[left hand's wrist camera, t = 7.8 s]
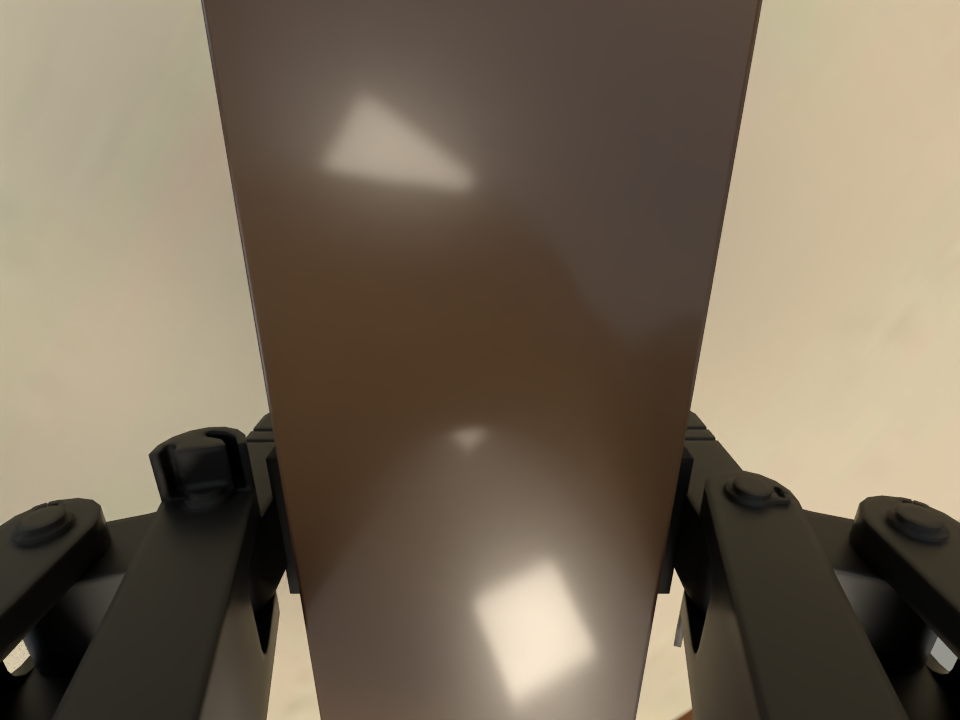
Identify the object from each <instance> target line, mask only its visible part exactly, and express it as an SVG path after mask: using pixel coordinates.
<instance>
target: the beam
mask: <svg viewBox="0 0 960 720" xmlns="http://www.w3.org/2000/svg"><path fill="white" fill-rule="evenodd" d="M201 3H202V9H203V15H204V21H205V27H206V33H207V39H208V45H209V51H210V57H211V63H212V69H213V75H214V81H215V87H216V93H217V99H218V105H219V111H220V117H221V123H222V129H223V135H224V141H225V147H226V153H227V159H228V165H229V171H230V177H231V183H232V189H233V195H234V201H235V207H236V213H237V219H238V225H239V231H240V237H241V243H242V249H243V255H244V261H245V267H246V273H247V279H248V285H249V291H250V297H251V303H252V309H253V315H254V321H255V327H256V333H257V339H258V345H259V351H260V357H261V363H262V369H263V375H264V381H265V387H266V393H267V399H268V405H269V411H270V417H271V423H272V429H273V435H274V441H275V447H276V453H277V459H278V465H279V471H280V477H281V483H282V489H283V495H284V501H285V507H286V513H287V519H288V525H289V531H290V537H291V543H292V549H293V555H294V561H295V567H296V573H297V579H298V585H299V591H300V597H301V603H302V609H303V615H304V621H305V627H306V633H307V639H308V645H309V651H310V657H311V663H312V669H313V675H314V681H315V687H316V693H317V699H318V705H319V711H320V717H321V720H635V719H636V714H637V708H638V702H639V697H640V691H641V685H642V680H643V674H644V668H645V663H646V657H647V651H648V646H649V640H650V634H651V629H652V623H653V617H654V612H655V606H656V600H657V595H658V589H659V583H660V578H661V572H662V566H663V561H664V555H665V549H666V544H667V538H668V532H669V527H670V521H671V515H672V510H673V504H674V498H675V493H676V487H677V481H678V476H679V470H680V464H681V459H682V453H683V447H684V442H685V436H686V430H687V425H688V419H689V413H690V408H691V402H692V396H693V391H694V385H695V379H696V374H697V368H698V362H699V357H700V351H701V345H702V340H703V334H704V328H705V323H706V317H707V311H708V306H709V300H710V294H711V289H712V283H713V277H714V272H715V266H716V260H717V255H718V249H719V243H720V238H721V232H722V226H723V221H724V215H725V209H726V204H727V198H728V192H729V187H730V181H731V175H732V170H733V164H734V158H735V153H736V147H737V141H738V136H739V130H740V124H741V119H742V113H743V107H744V102H745V96H746V90H747V85H748V79H749V73H750V68H751V62H752V56H753V51H754V45H755V39H756V34H757V28H758V22H759V17H760V11H761V5H762V0H201Z"/></svg>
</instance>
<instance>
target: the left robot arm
mask: <svg viewBox="0 0 960 720" xmlns="http://www.w3.org/2000/svg"><path fill="white" fill-rule="evenodd" d="M149 458H150V462H151V465H152V469H153V472H154V476H155V479H156V483H157V486H158V490H159V494H160V497H161V501H162V502H161V504H160V506H159V508H158V510H157V512H153V513H150V514H145V515H140V516H135V517H130V518H125V519H119V520H114V521H109V522H106V520H105V518H104V515H103V512H102V509H101V506H100V505H99V504H98V503H96V502H95V501H94V500H90V499H82V498H74V499H65V500H56V501H51V502H49V503H48V504H47V503H44V504H41V505H38V506H35V507H33V508H32V509H30V510H28V511H26V512H24V513H21V514H19V515H17V516H15V517H13V518H12V519H10V520H9V521H7V522H6V523H4V524H2V525H1V526H0V720H266V719H267V711H268V703H269V695H270V687H271V679H272V671H273V663H274V655H275V646H276V638H277V630H278V622H279V614H280V611H279V604H278V599H277V594H276V589H277V587H278V584H279V582H280V580H281V578H282V576H283V574H284V572H285V569H286V573H287V578H288V584H289V589H290V594H300V591H299V585H298V579H297V573H296V567H295V561H294V555H293V549H292V543H291V537H290V531H289V525H288V519H287V513H286V507H285V501H284V495H283V489H282V483H281V477H280V471H279V465H278V459H277V453H276V447H275V441H274V435H273V429H272V423H271V417H270V413H268V414H266V415H265V416H264V417H263V418H262V419H261V420H260V422H259V423H258V424H257V425H256V426H255V428H254V429H253V431H251V432H250V434H249V435H248V436H247V437H246V436H245V434H243V433H242V432H241V431H239V430H238V429H233V428H228V427H208V428H202V429H197V430H192V431H188V432H186V433H183V434H180V435H177V436H174V437H172V438H170V439H168V440H167V441H165V442H163V443H161V444H160V445H158V446H157V447H156V448H155V449H154V450H153V451H152V452H151V453H150V454H149ZM674 568H675V570H676V572H677V574H678V576H679V578H680V581H681V583H682V585H683V587H684V594H683V599H682V604H681V609H680V614H679V619H678V624H677V629H676V634H675V641H674V646H677V647H681V644H682V639H683V637H684V645H685V653H686V661H687V669H688V677H689V685H690V693H691V701H692V709H693V717H694V720H960V523H959V522H957V521H956V520H954V519H953V518H951V517H950V516H948V515H946V514H945V513H943V512H940V511H938V510H936V509H933V508H931V507H929V506H928V505H926V504H924V503H921V502H918V501H915V500H914V501H912V500H911V499H907V498H902V497H890V496H875V497H867V498H866V499H865V500H863V501H862V502H861V503H860V504H859V507H858V510H857V513H856V516H855V519H854V520H853V519H847V518H842V517H837V516H832V515H827V514H822V513H816V512H812V511H808V510H804V509H802V507H801V505H800V503H799V501H798V500H797V499H796V497H795V496H794V495H793V494H792V493H791V491H790V490H788V489H787V488H785V487H784V486H782V485H781V484H779V483H778V482H776V481H774V480H772V479H769V478H767V477H764V476H762V475H760V474H755V473H751V472H747V471H743V470H742V469H741V468H740V467H739V465H738V464H737V463H736V462H735V461H734V459H733V458H732V457H731V456H730V455H729V453H728V452H727V451H726V450H725V449H724V447H723V446H722V445H721V444H720V443H719V441H716V440H715V437H714V436H713V434H712V433H711V432H710V431H709V430H707V429H706V426H705V425H704V424H703V422H702V421H701V420H700V419H699V418H698V416H697V415H696V414H695V413H693V412H691V411H690V413H689V419H688V425H687V430H686V436H685V442H684V447H683V453H682V459H681V464H680V470H679V476H678V481H677V487H676V493H675V498H674V504H673V510H672V515H671V521H670V527H669V532H668V538H667V544H666V549H665V555H664V561H663V566H662V572H661V578H660V583H659V589H658V594H669V593H670V587H671V582H672V576H673V571H674ZM937 637H939V638H940V639H941V640H942V641H943V642H944V643H945V645H946V646H947V647H948V648H949V649H950V650H951V651H952V652H953V653H954V654H955V655H956V656H957V657H958V659H957V661H956V663H955V665H954V667H953V669H952V670H951V671H950V672H949V671H947V670H946V669H945V668H944V667H943V666H942V665H940V664H939V663H938V661H937V660H936V659H935V658H934V657H933V656H932V655H931V653H930V652H931V650H932V648H933V646H934V644H935V642H936V639H937ZM22 639H23V641H24V643H25V645H26V647H27V649H28V652H29V654H30V656H29V657H28V658H27V660H26V661H25V662H24V663H23V664H22V665H21V666H20V667H19V668H18V669H16V670H15V671H14V672H13V673H10V672H8V670H7V668H6V666H5V664H4V662H3V660H4V659H5V658H6V657H7V656H8V655H9V653H10V652H11V651H12V650H13V649H14V648H15V647H16V646H17V645H18V644H19V643H20V642H21V641H22Z"/></svg>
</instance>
